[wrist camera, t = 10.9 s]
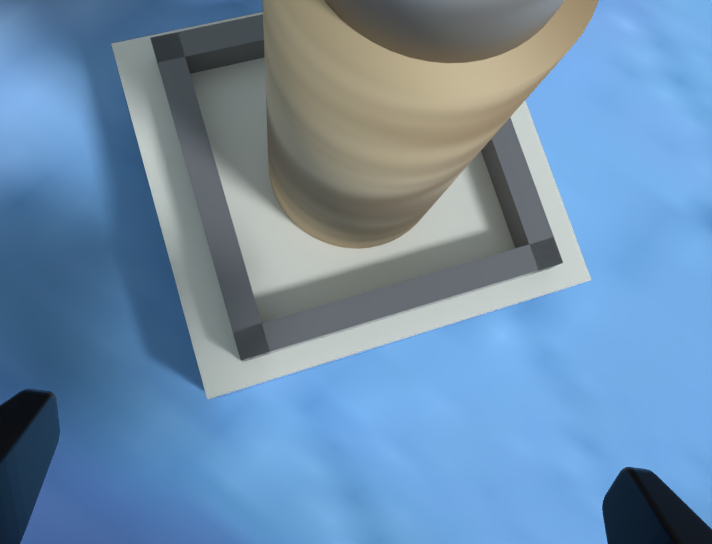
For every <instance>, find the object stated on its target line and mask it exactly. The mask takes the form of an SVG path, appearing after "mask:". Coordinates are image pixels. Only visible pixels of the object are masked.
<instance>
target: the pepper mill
mask: <svg viewBox="0 0 712 544" xmlns="http://www.w3.org/2000/svg"><path fill="white" fill-rule="evenodd" d="M598 1H599V0H263V28H264V56H265V84H266V112H267V140H268V166H269V176H270V181H271V185H272V188H273V191H274V194H275V197H276V198H277V200H278V202H279V204H280V206H281V207H282V209H283V210H284V212H285V213H286V214H287V216H288V217H289V218H290V219H291V220H292V221H293V222H294V223H295V224H296V225H297V226H298V227H299V228H300V229H302V230H303V231H304V232H306V233H307V234H309V235H310V236H312V237H314V238H316V239H318V240H320V241H322V242H324V243H327V244H330V245H334V246H338V247H343V248H354V249H361V248H371V247H376V246H380V245H383V244H386V243H389V242H391V241H393V240H395V239H397V238H399V237H401V236H402V235H404V234H405V233H407V232H408V231H409V230H411V229H412V228H413V227H414V226H415V225H416V224H417V223H418V222H419V221H420V220H421V218H422V217H423V216H424V215H425V214H426V213H427V212H428V210H429V209H430V208H431V207H432V206H433V205H434V204H435V202H436V201H437V200H438V199H439V198H440V197H441V196H442V194H443V193H444V192H445V191H446V190H447V189H448V188H449V186H450V185H451V184H452V183H453V182H454V181H455V180H456V179H457V177H458V176H459V175H460V174H461V173H462V172H463V171H464V169H465V168H466V167H467V166H468V165H469V164H470V163H471V161H472V160H473V159H474V158H475V157H476V156H477V155H478V153H479V152H480V151H481V150H482V149H483V148H484V147H485V145H486V144H487V143H488V142H489V141H490V140H491V139H492V137H493V136H494V135H495V134H496V133H497V132H498V131H499V129H500V128H501V127H502V126H503V125H504V124H505V123H506V121H507V120H508V119H509V118H510V117H511V116H512V115H513V113H514V112H515V111H516V110H517V109H518V108H519V107H520V105H521V104H522V103H523V102H524V101H525V100H526V99H527V97H528V96H529V95H530V94H531V93H532V92H533V91H534V89H535V88H536V87H537V86H538V85H539V84H540V83H541V81H542V80H543V79H544V78H545V77H546V76H547V75H548V73H549V72H550V71H551V70H552V69H553V68H554V67H555V65H556V64H557V63H558V62H559V61H560V60H561V59H562V57H563V56H564V55H565V54H566V53H567V52H568V51H569V49H570V48H571V47H572V46H573V45H574V43H575V42H576V41H577V40H578V38H579V37H580V36H581V35H582V33H583V31H584V30H585V28H586V26H587V25H588V23H589V21H590V20H591V18H592V16H593V13H594V11H595V8H596V6H597V3H598Z"/></svg>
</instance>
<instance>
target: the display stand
mask: <svg viewBox="0 0 712 544" xmlns="http://www.w3.org/2000/svg"><path fill="white" fill-rule="evenodd" d="M111 45H112V49H113V52H114V56H115V60H116V63H117V67H118V71H119V75H120V78H121V82H122V86H123V89H124V93H125V97H126V100H127V104H128V108H129V112H130V115H131V119H132V123H133V126H134V130H135V134H136V137H137V141H138V145H139V149H140V152H141V156H142V160H143V163H144V167H145V171H146V174H147V178H148V182H149V186H150V189H151V193H152V197H153V200H154V204H155V208H156V212H157V215H158V219H159V223H160V226H161V230H162V234H163V237H164V241H165V245H166V249H167V252H168V256H169V260H170V263H171V267H172V271H173V274H174V278H175V282H176V286H177V289H178V293H179V297H180V300H181V304H182V308H183V311H184V315H185V319H186V323H187V326H188V330H189V334H190V337H191V341H192V345H193V349H194V352H195V356H196V360H197V363H198V367H199V371H200V374H201V378H202V382H203V386H204V389H205V393H206V397H207V399H212V398H217V397H220V396H223V395H226V394H229V393H233V392H236V391H239V390H242V389H245V388H249V387H252V386H255V385H258V384H262V383H265V382H268V381H271V380H274V379H278V378H281V377H284V376H287V375H291V374H294V373H297V372H300V371H303V370H307V369H310V368H313V367H316V366H319V365H323V364H326V363H329V362H332V361H336V360H339V359H342V358H345V357H348V356H352V355H355V354H358V353H361V352H365V351H368V350H371V349H374V348H377V347H381V346H384V345H387V344H390V343H393V342H397V341H400V340H403V339H406V338H410V337H413V336H416V335H419V334H422V333H426V332H429V331H432V330H435V329H439V328H442V327H445V326H448V325H451V324H455V323H458V322H461V321H464V320H467V319H471V318H474V317H477V316H480V315H484V314H487V313H490V312H493V311H496V310H500V309H503V308H506V307H509V306H513V305H516V304H519V303H522V302H525V301H529V300H532V299H535V298H538V297H541V296H545V295H548V294H551V293H554V292H558V291H561V290H564V289H567V288H570V287H573V286H575V285H578V284H581V283H584V282H587V281H590V280H591V278H590V275H589V272H588V270H587V267H586V264H585V262H584V259H583V256H582V253H581V251H580V248H579V245H578V243H577V240H576V237H575V234H574V232H573V229H572V226H571V224H570V221H569V218H568V215H567V213H566V210H565V207H564V205H563V202H562V199H561V196H560V194H559V191H558V188H557V185H556V183H555V180H554V177H553V175H552V172H551V169H550V166H549V164H548V161H547V158H546V156H545V153H544V150H543V147H542V145H541V142H540V139H539V137H538V134H537V131H536V128H535V126H534V123H533V120H532V118H531V115H530V112H529V109H528V107H527V104H526V101H524V102H523V103H522V104H521V105H520V107H519V108H518V109H517V110H516V111H515V112H514V113H513V115H512V116H511V117H510V118H509V119H508V120H507V121H506V123H505V124H504V125H503V126H502V127H501V128H500V129H499V131H498V132H497V133H496V134H495V135H494V136H493V137H492V139H491V140H490V141H489V142H488V143H487V144H486V145H485V147H484V148H483V149H482V150H481V151H480V152H479V153H478V155H477V156H476V157H475V158H474V159H473V160H472V161H471V163H470V164H469V165H468V166H467V167H466V168H465V169H464V171H463V172H462V173H461V174H460V175H459V176H458V177H457V179H456V180H455V181H454V182H453V183H452V184H451V185H450V186H449V188H448V189H447V190H446V191H445V192H444V193H443V194H442V196H441V197H440V198H439V199H438V200H437V201H436V202H435V204H434V205H433V206H432V207H431V208H430V209H429V210H428V212H427V213H426V214H425V215H424V216H423V217H422V218H421V220H420V221H419V222H418V223H417V224H416V225H415V226H414V227H413V228H412V229H411V230H409V231H408V232H407V233H405V234H404V235H402V236H401V237H399V238H397V239H395V240H393V241H391V242H389V243H386V244H383V245H380V246H376V247H371V248H361V249H354V248H343V247H338V246H334V245H330V244H327V243H324V242H322V241H320V240H318V239H316V238H314V237H312V236H310V235H309V234H307V233H306V232H304V231H303V230H302V229H300V228H299V227H298V226H297V225H296V224H295V223H294V222H293V221H292V220H291V219H290V218H289V217H288V216H287V214H286V213H285V212H284V210H283V209H282V207H281V206H280V204H279V202H278V200H277V198H276V197H275V194H274V191H273V188H272V185H271V181H270V176H269V166H268V140H267V112H266V84H265V56H264V28H263V12H260V13H255V14H250V15H246V16H241V17H236V18H231V19H226V20H222V21H217V22H212V23H207V24H202V25H198V26H193V27H188V28H183V29H179V30H174V31H169V32H164V33H159V34H155V35H150V36H145V37H140V38H135V39H131V40H126V41H121V42H116V43H111Z"/></svg>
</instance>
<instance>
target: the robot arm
mask: <svg viewBox="0 0 712 544" xmlns="http://www.w3.org/2000/svg"><path fill="white" fill-rule="evenodd" d="M59 434H60V427H59V418H58V410H57V401H56V397H55V395H54V393H52V392H50V391H43V390H35V389H25V390H23V391H21V392H19V393H18V394H16V395H15V396H13V397H12V398H10V399H9V400H7V401H6V402H4V403H3V404H2V405H0V544H20V542H21V540H22V537H23V535H24V532H25V530H26V527H27V525H28V522H29V519H30V517H31V514H32V511H33V509H34V506H35V503H36V501H37V498H38V495H39V492H40V490H41V487H42V484H43V482H44V479H45V476H46V474H47V471H48V468H49V465H50V463H51V460H52V457H53V455H54V452H55V449H56V447H57V444H58V440H59ZM602 511H603V518H604V524H605V530H606V536H607V542H608V544H712V529H711V528H710V527H709V526H708V525H707V524H706V523H705V522H704V521H703V520H702V519H701V518H700V517H699V516H698V515H697V514H696V513H695V512H694V511H692V510H691V509H690V508H689V507H688V506H687V505H686V504H685V503H684V502H683V501H682V500H681V499H680V498H679V497H678V496H677V495H676V494H675V493H674V492H673V491H672V490H671V489H670V488H669V487H668V486H667V485H666V484H665V483H664V482H663V481H662V480H661V479H660V478H659V477H658V476H657V475H656V474H654V473H653V472H652V471H650V470H647V469H641V468H634V467H626V468H624V469H622V470H621V471H620V473H619V474H618V476H617V478H616V479H615V481H614V482H613V484H612V486H611V487H610V489H609V490H608V492H607V493H606V495H605V497H604V500H603V506H602Z"/></svg>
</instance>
